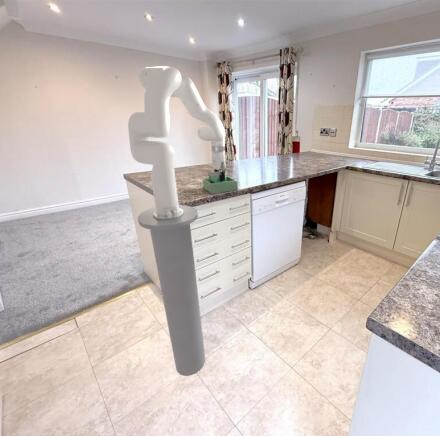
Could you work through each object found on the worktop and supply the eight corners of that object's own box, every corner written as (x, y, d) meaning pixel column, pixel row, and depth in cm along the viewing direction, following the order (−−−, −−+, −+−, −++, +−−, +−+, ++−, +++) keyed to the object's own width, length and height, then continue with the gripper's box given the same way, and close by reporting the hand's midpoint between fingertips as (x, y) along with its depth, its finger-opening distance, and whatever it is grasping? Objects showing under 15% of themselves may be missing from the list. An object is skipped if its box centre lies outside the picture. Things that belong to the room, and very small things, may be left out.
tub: (237, 189, 148) (237, 180, 146) (211, 194, 140) (210, 184, 137) (228, 184, 158) (228, 176, 156) (203, 188, 149) (202, 179, 147)
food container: (214, 190, 142) (213, 173, 138) (208, 188, 146) (207, 171, 142) (231, 187, 150) (231, 171, 147) (225, 185, 154) (225, 169, 150)
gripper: (206, 147, 144) (208, 177, 151) (218, 151, 131) (220, 184, 138) (218, 146, 148) (219, 176, 155) (231, 150, 135) (232, 182, 142)
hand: (219, 179), depth 146 cm, fingers closed on food container, 6 cm apart
